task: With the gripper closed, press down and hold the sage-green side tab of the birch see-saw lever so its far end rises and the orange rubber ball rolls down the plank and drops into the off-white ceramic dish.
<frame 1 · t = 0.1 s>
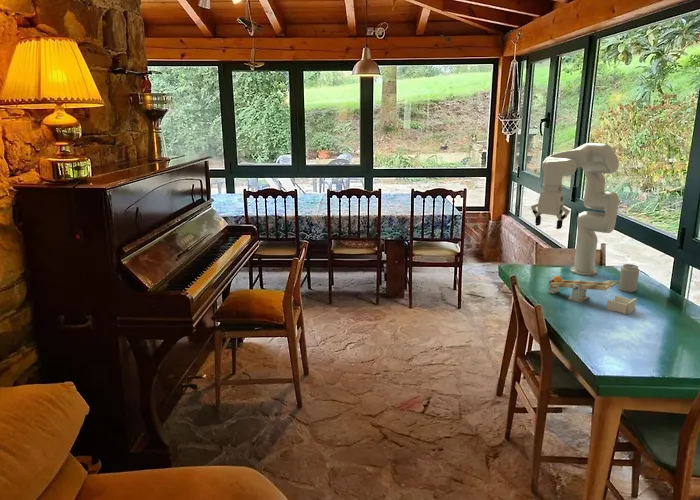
hand: (548, 226, 234), 31 cm above the table, fingers open, 9 cm apart
dish: (620, 309, 222), on the table
lever: (583, 281, 236), point 7 cm above the table, hinge at -10.4°, touching ball
can: (627, 290, 245), on the table
ball: (557, 279, 240), point 6 cm above the table, tilted 8°, touching lever
fulcrum: (578, 298, 235), on the table
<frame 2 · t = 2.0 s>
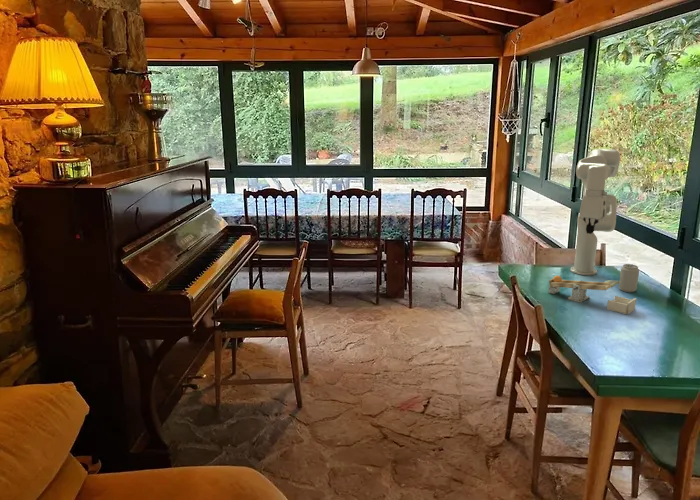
hand: (589, 233, 240), 27 cm above the table, fingers closed
nothing on the table moved.
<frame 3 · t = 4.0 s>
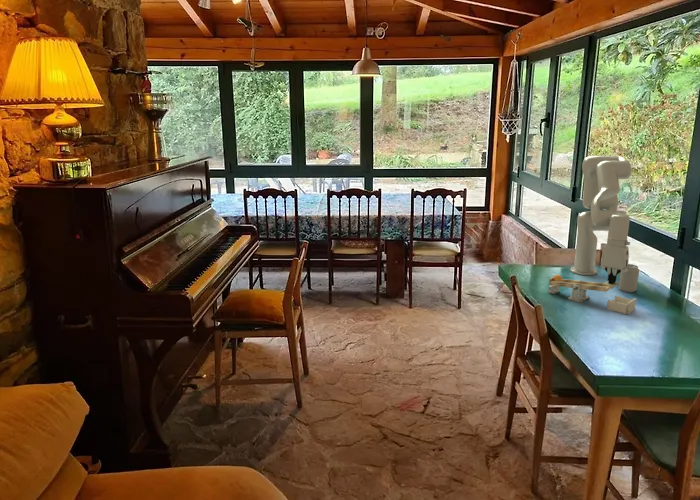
hand: (611, 283, 231), 8 cm above the table, fingers closed
lever: (583, 281, 236), point 7 cm above the table, hinge at -7.4°, touching ball, gripper
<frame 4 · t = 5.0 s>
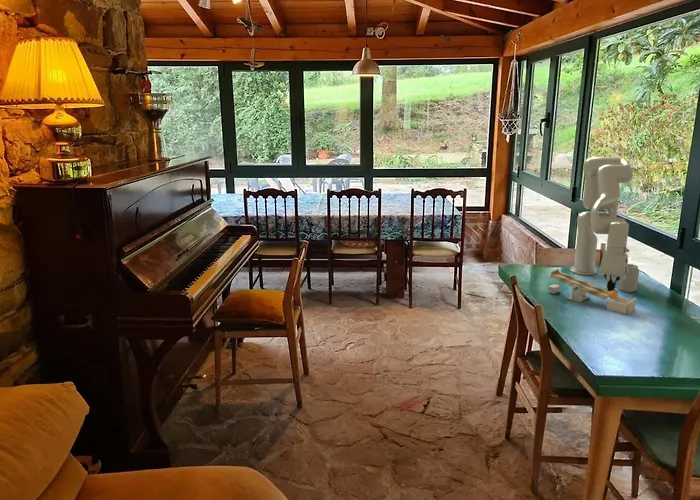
hand: (610, 289, 232), 5 cm above the table, fingers closed
lever: (584, 281, 236), point 7 cm above the table, hinge at 10.2°, touching gripper
ball: (612, 294, 224), point 5 cm above the table, tilted 61°
everything else where it was.
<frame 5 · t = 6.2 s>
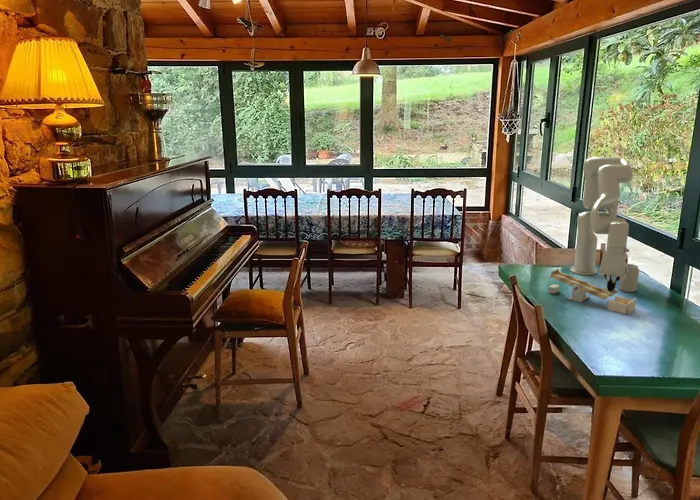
hand: (610, 289, 232), 5 cm above the table, fingers closed
ball: (624, 305, 221), point 2 cm above the table, tilted 103°, touching dish
everything else where it was.
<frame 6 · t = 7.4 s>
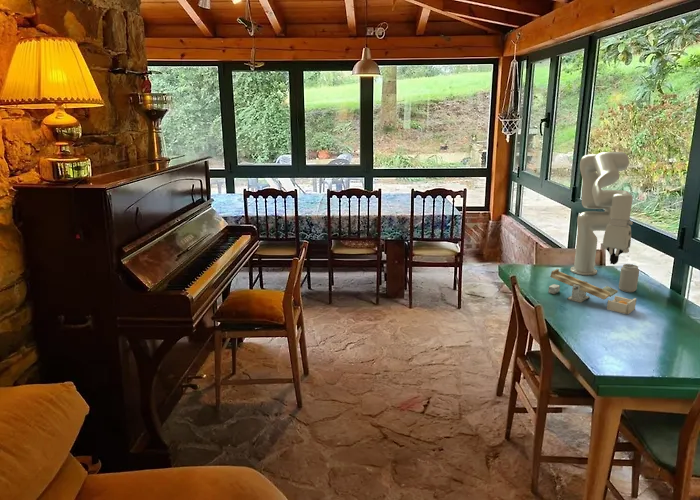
hand: (613, 263, 229), 17 cm above the table, fingers closed
lever: (584, 281, 236), point 7 cm above the table, hinge at 10.2°
ball: (622, 304, 221), point 2 cm above the table, tilted 124°, touching dish
everything else where it was.
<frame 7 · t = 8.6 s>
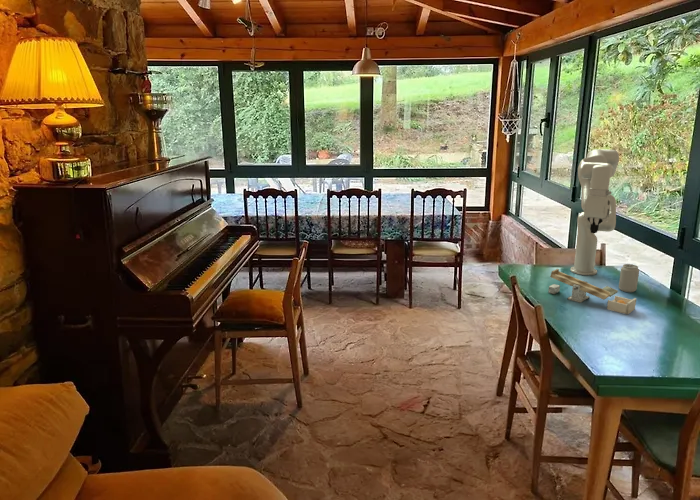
hand: (593, 232, 240), 27 cm above the table, fingers closed
ball: (620, 304, 222), point 2 cm above the table, tilted 145°, touching dish
everything else where it was.
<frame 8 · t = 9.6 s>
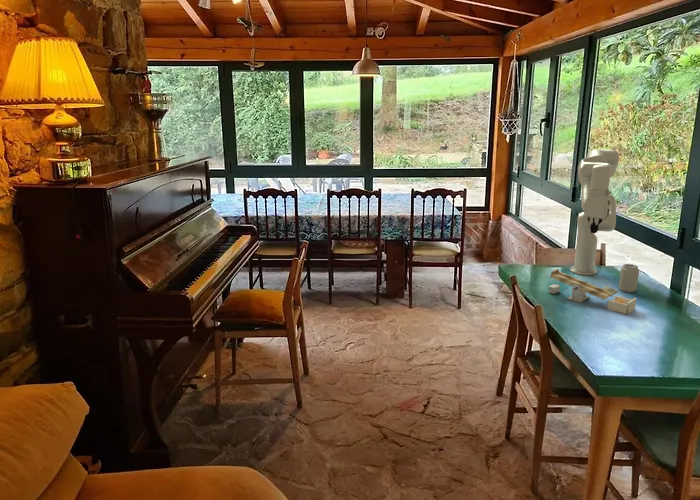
hand: (593, 232, 240), 27 cm above the table, fingers closed
ball: (619, 304, 222), point 2 cm above the table, tilted 163°, touching dish
everything else where it was.
at the end: ball 0.8 cm off-centre on the dish, point 2.2 cm above the dish's base; lever at +10° (first picture: -10°) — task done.
